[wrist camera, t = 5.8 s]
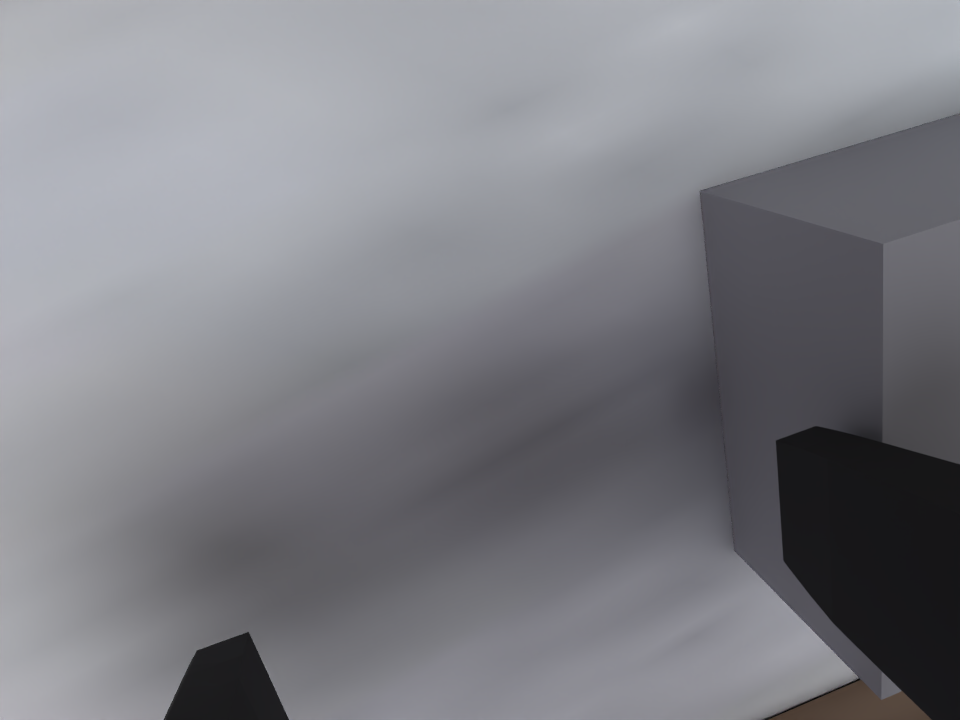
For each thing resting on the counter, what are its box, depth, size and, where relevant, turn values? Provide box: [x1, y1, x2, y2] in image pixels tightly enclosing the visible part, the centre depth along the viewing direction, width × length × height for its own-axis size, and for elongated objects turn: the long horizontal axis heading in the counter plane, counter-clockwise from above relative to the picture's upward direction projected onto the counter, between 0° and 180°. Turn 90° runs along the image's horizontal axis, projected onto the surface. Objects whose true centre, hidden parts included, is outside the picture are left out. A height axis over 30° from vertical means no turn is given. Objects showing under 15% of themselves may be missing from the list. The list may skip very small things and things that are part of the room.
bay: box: [768, 680, 931, 720], centre depth 12 cm, size 19×20×3 cm
